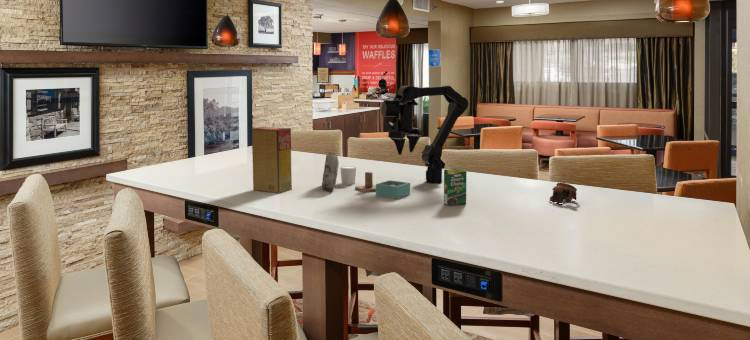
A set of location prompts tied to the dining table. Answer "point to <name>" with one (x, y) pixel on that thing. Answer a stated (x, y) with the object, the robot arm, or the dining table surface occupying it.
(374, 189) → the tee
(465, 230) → the dining table surface
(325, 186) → the decorative rock
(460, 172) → the coffee box
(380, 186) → the teal open-top box
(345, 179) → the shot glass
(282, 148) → the food packaging
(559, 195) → the dark brown lump
